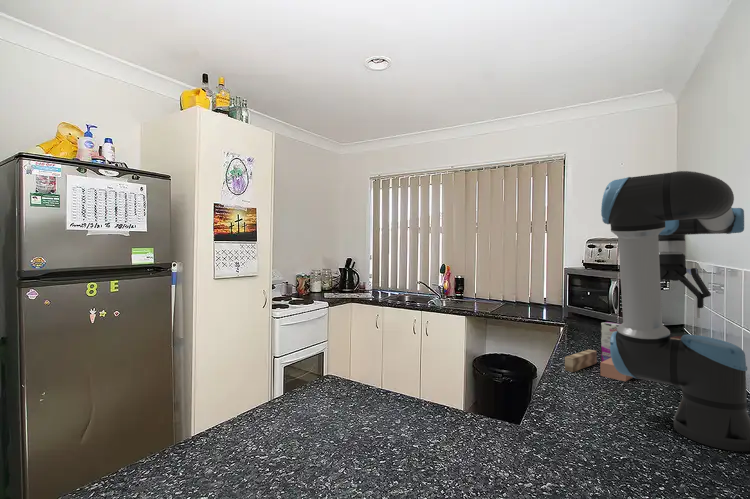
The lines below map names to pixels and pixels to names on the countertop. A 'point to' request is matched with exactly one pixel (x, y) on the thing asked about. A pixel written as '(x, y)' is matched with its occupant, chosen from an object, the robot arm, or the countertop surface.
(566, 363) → the board
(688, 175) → the robot arm
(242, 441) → the countertop surface
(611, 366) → the block
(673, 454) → the countertop surface
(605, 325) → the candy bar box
